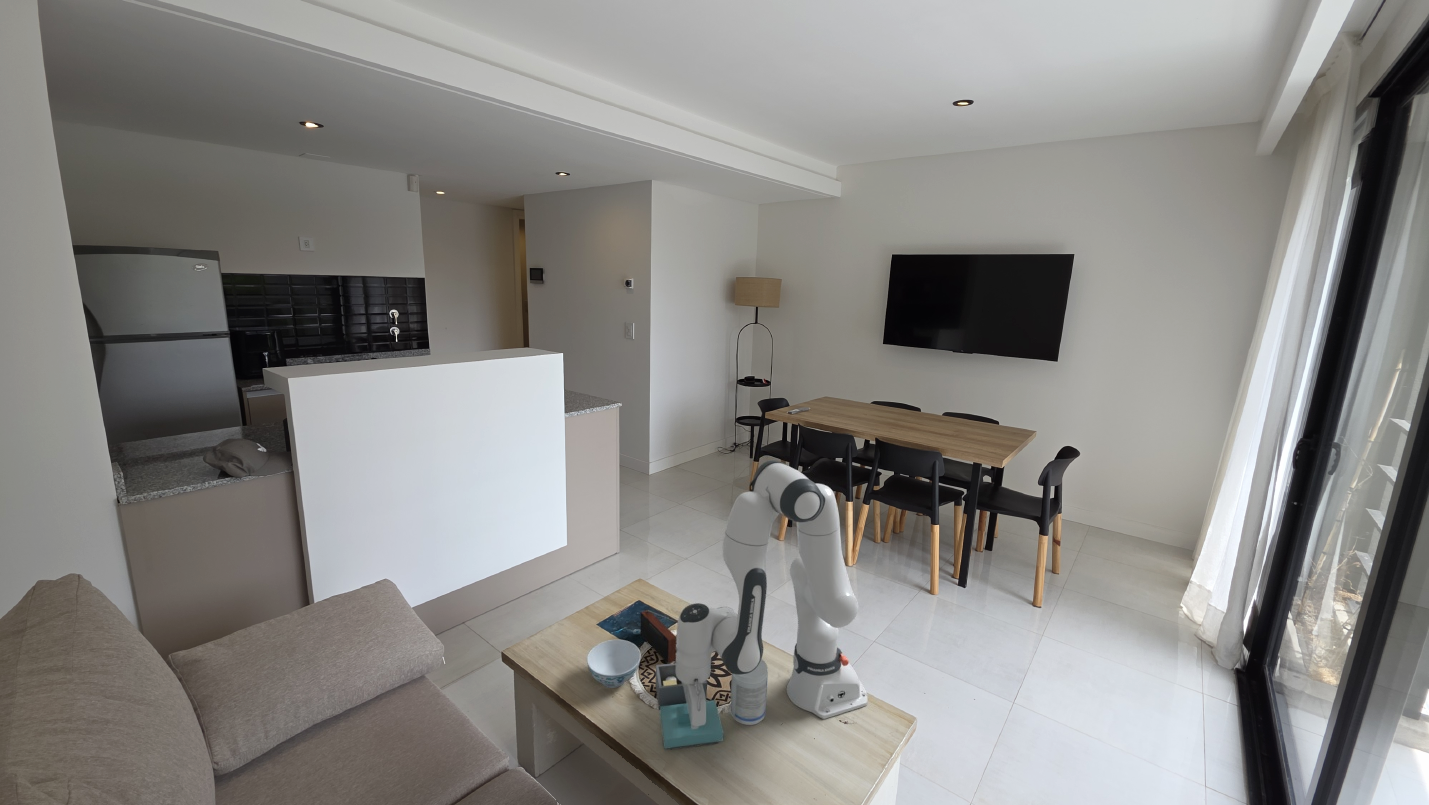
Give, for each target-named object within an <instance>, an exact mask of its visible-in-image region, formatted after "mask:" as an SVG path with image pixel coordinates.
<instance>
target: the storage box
mask: <svg viewBox="0 0 1429 805" xmlns="http://www.w3.org/2000/svg"><path fill="white" fill-rule="evenodd" d="M675 670H676V662H675V663H674V662H672V663H669V664H667V663H664V664H656V665H655V690H656V691H655V692H657V693H656V698H657V700H656V701H657V705H658V706H657V707H658V711H660V706H669V705H677V704H686V698H685V693H684V688H683V683H682V682H681V681H680V680H679V679H678V678H677V676H676V673H675ZM702 685H703V689H704V693H705V698H706V701H708V700H707V699H708V697H707V696H708V695H707V693H708V679H707V680H706V681H704V682H703V683H702Z"/></svg>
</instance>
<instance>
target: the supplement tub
mask: <svg viewBox="0 0 1429 805" xmlns="http://www.w3.org/2000/svg"><path fill="white" fill-rule="evenodd" d="M768 678H769V671H768V665H767V663H766V661H765V660H764V659H761V661H760V663H759V665H758V666H757V667H756V669H754V670H753V671H752V672H750V673H747V674H742V675H738V674H732V673H731V679H730V680H731V683H730V684H731V686H730V710H729V711H730V715H731V716H732V718H733V719H734V720H735V721H737V723H740V724H742V725H745V726H753V725H757V724H759V723H761V722H762V720H764V718H765V717H766V711H767V694H768V693H767V692H768Z"/></svg>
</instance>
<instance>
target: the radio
mask: <svg viewBox="0 0 1429 805" xmlns="http://www.w3.org/2000/svg"><path fill="white" fill-rule="evenodd" d="M655 615H656V616H655ZM657 616H658V617H659V616H660V617H662V618H665V619H666V620H669V621H672V622H675V623H676V624H678V621H676V620H674V619H670V618H668V617H667V616H666V617H665V616H663V615H661V614H658V613H656V612H653V611H651V610H649V609H646V610H643V611H641V612H640V636H641V637H642V638H643V640H645V641H646V642H647V644H649V646H650V647H651V648H652V649H653V650H654V651H655V652H656V653H657V654H658V655H659V656H660V657H661V658H662V659H663V661H665V664H672V663H674V662H676V646H677V644H676V635H675V634H674V633H673V632H672V631H671V630H670V629H669V628H668V627H667V626H666V625H665V624H664V623H663V622H662V621H661V620H660V619H658V617H657Z"/></svg>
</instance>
